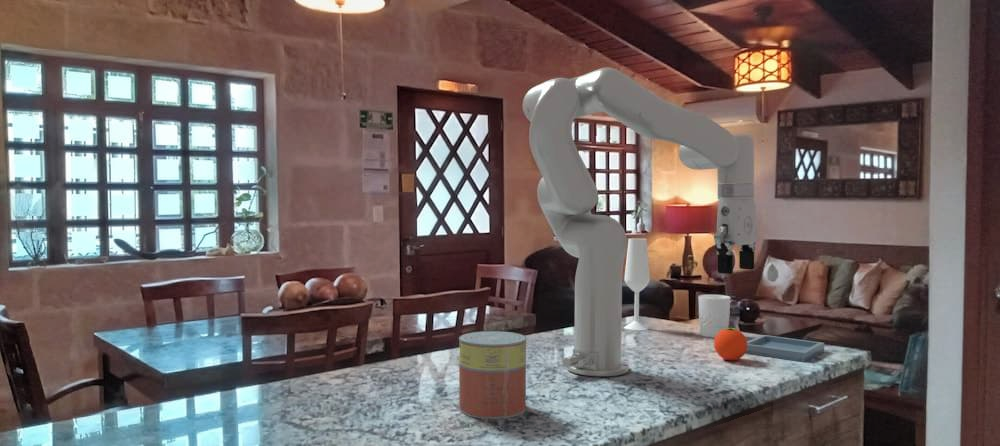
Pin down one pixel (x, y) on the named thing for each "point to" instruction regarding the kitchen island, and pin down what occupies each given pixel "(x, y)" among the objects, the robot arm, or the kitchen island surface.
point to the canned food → (492, 374)
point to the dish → (784, 348)
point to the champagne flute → (637, 275)
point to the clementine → (730, 344)
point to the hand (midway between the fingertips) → (736, 271)
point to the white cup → (713, 314)
